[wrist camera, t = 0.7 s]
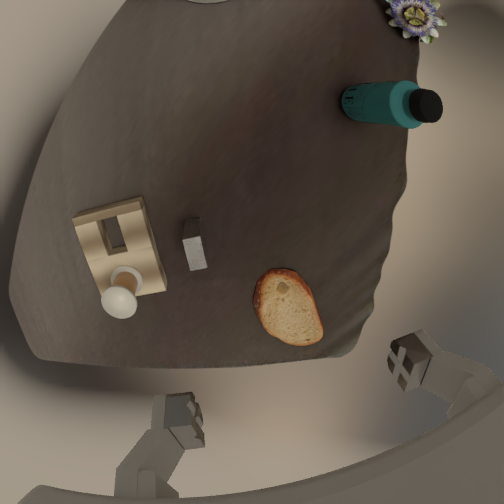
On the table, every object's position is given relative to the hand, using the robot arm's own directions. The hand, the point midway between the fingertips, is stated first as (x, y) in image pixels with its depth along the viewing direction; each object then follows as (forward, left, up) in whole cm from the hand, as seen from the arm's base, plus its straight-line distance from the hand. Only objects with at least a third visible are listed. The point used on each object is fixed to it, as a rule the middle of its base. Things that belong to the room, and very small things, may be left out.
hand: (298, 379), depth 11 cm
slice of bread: (+29, +9, -40) cm, 50 cm away
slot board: (+9, -19, -39) cm, 44 cm away
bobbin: (+13, -19, -36) cm, 43 cm away
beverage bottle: (-9, +23, -39) cm, 46 cm away
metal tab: (+9, -6, -39) cm, 40 cm away
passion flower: (-27, +37, -39) cm, 60 cm away
